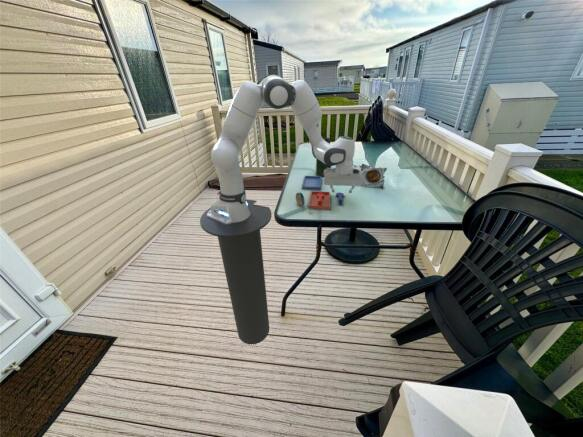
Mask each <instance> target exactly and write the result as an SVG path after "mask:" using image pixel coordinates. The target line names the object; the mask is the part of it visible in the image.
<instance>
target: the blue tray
mask: <svg viewBox="0 0 583 437" xmlns="http://www.w3.org/2000/svg"><path fill="white" fill-rule="evenodd" d="M321 184H322V176H318V175H304V176H303V181H302V185H301V186H302V187H301V189H302V190H308V191H321V186H322V185H321Z"/></svg>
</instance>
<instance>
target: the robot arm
mask: <svg viewBox="0 0 583 437" xmlns="http://www.w3.org/2000/svg"><path fill="white" fill-rule="evenodd" d="M265 105H267V106H268V107H270V108H272V109H273V110H274V109H275V110H282V109H284V108H287V107H290V108H291V109H292V112H293V113H294V115H295V117H296V120H298V122H299V123H300V125H301V127H302V128H303V130H304V132H305V134H306V137H307V138H308V141H309V142H310V143H309V144H310V146H311V154H312V156H313V158H314V159H318V160H320V161H321V162H323V163H324V164H326V165H328V166H331V168H327V170H326V169H325V170H324V176H325V177H323V184H324V185H325V186H329V188H330V189H331V193H335V190H336V188H334V186H342V187H343V186H344V187H351V188H349V189H348V193H349V194H352V193H353V190H354V189H355V188H356V187H361V186H363V185H362V175H361V166H359V165H357V164H355V163H354V156H355V152H356V150H355V149H356V144H355V143H356V142H355V140H354V139H353V137H350V136H346V135H340V136H339V137H338V138H337V139H336V140H335V141H334V142H332V143H330V144H329V143H328V142H326V141H325V140H324V139H323V138H324V137H323V136H322V134H321V131H320V128H319V127H318V125H319V123H320V121H321V120H322V118H323V113H322V112H323V111H322V108H321V106H320V103H319V101H318V99H317V97H316V95H315V93H314V91H313V90H312V88H311V87H310V85H309V84H308V83H307V82H306V81H305V80H303V79H297V80H295V81H293V82H291V83H289V82H288V81H287V80H285V79H284V78H283V77H282V76H280V75H277V74H267V75H266V76H264V77H263V78H262V79H260V80H259V81H257V82H256V83H255V82H253V81H251V80H246V81H243V82H242V83H241V84H240V86H239V87H238V89H237V90H236V92H235V94H234V96H233V98H232V100H231V103H230V106H229V108H228V110H227V114H226V116H225V119H224V121H223V125H222V127H221V128H222V129H221V132H220V134H219V137H218V139H217V141H216V143H215V144H214V145H213V147H212V148H211V151H210V152H211V153H210V160H211V162H212V164H213V166H214V169H215V172H216V174H217V177H218V182H219V188H220V190H219V191H218V192H217V193H216V194H217V196H219V197H216V199H215V200H214V201H213V202H212V203H211V205H210V208H211V210H210V211H209V212H208V213H207V217H209V218H211V219H214V220H216V221H219V222H221V223H223V224H226V225H227V224H231V223H235V222H241V221H244V220H246V219H247V218H248V217H249V216H250V211H249V209H248V206H247V205H248V204H247V202H246V199H247V195H246V193H247V192H246V189H245V187H244V186H245V185H244V176H243V173H242V170H241V166H240V160H239V159H240V154H241V152H242V149H243V148H244V145H245V143H246V141H247V138H248V136H249V134H250V133H251V130H252V127H253V125H254V123H255V121H256V119H257V116H258V114H259V111H260V109H261V108H262V107H263V106H265Z"/></svg>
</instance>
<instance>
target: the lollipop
mask: <svg viewBox="0 0 583 437" xmlns="http://www.w3.org/2000/svg"><path fill="white" fill-rule="evenodd" d="M305 201H306V200H305V197H304V194H303V193H302V192H300V191H299V192H296V193H295V202H296V204H297V206H305V207H306V209H307V210H308V212H309V213H310V214H311V213H312V212H311V211H310V210H309V207H307V206H306V204H305Z"/></svg>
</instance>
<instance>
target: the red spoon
mask: <svg viewBox="0 0 583 437" xmlns="http://www.w3.org/2000/svg"><path fill="white" fill-rule="evenodd" d="M317 198H318V205H319V206H321V204H322V199H323V198H324V194H322V193H318V194H317Z"/></svg>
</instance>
